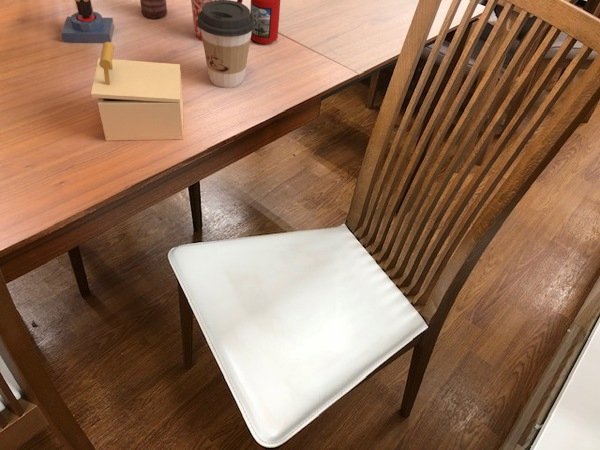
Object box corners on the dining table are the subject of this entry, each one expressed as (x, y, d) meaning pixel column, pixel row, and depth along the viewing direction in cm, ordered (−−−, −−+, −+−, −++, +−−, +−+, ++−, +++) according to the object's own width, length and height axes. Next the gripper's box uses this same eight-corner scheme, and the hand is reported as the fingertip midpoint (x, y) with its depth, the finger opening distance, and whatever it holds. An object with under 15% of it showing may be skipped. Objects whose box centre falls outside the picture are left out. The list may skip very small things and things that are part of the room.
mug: (196, 46, 117) (192, -14, 107) (186, 28, 123) (183, -31, 113) (248, 41, 121) (249, -17, 111) (237, 23, 127) (237, -33, 117)
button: (78, 27, 113) (76, 20, 111) (80, 20, 115) (78, 12, 114) (95, 28, 113) (93, 20, 112) (96, 20, 116) (95, 13, 115)
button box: (63, 42, 112) (59, 25, 110) (69, 25, 118) (65, 8, 115) (111, 43, 114) (107, 26, 111) (114, 26, 120) (111, 9, 117)
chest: (105, 140, 91) (97, 103, 85) (111, 104, 99) (104, 67, 93) (183, 139, 93) (180, 103, 88) (183, 103, 101) (180, 68, 95)
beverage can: (243, 37, 122) (244, -14, 113) (264, 30, 126) (267, -20, 117) (262, 48, 119) (265, -3, 111) (283, 41, 123) (287, -10, 114)
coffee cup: (190, 84, 106) (185, 14, 95) (214, 60, 113) (212, -8, 103) (239, 99, 104) (240, 28, 93) (261, 73, 112) (264, 6, 101)
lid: (91, 97, 84) (86, 67, 80) (98, 61, 92) (95, 32, 88) (179, 102, 88) (180, 74, 84) (179, 68, 95) (180, 40, 91)
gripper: (104, -74, 104) (118, 9, 117) (35, -78, 102) (57, 8, 114) (101, -61, 99) (116, 24, 112) (28, -64, 97) (52, 23, 109)
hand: (86, 16), depth 113 cm, fingers closed
